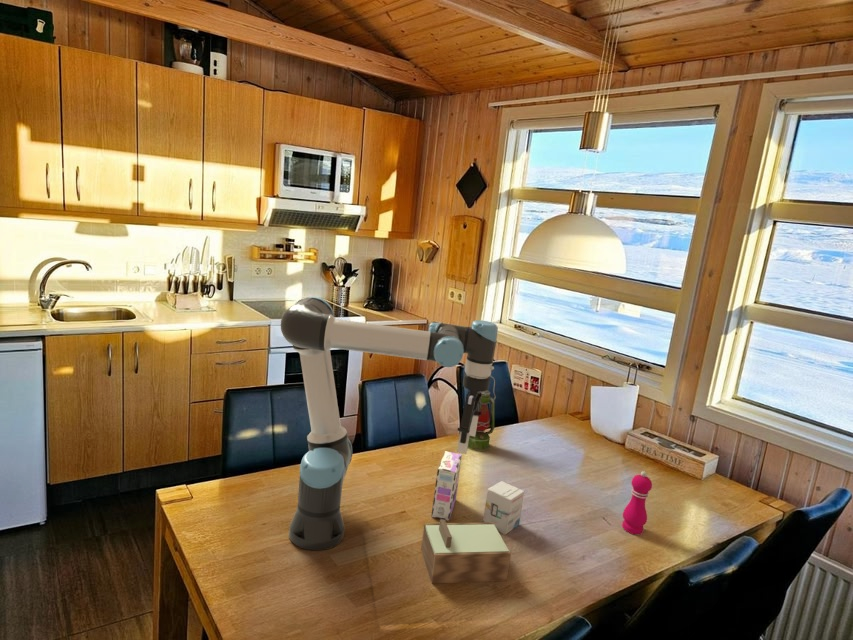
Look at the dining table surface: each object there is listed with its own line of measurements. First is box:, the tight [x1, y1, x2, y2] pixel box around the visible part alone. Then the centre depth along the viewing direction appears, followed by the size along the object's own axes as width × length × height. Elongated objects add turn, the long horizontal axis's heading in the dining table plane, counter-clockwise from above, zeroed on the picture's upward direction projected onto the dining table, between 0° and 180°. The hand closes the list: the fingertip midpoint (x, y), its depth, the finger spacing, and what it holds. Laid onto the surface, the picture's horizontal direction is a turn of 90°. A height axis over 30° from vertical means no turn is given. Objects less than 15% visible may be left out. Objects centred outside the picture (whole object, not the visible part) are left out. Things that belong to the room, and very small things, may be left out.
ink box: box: [482, 480, 525, 535], centre depth 172 cm, size 8×8×12 cm
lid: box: [425, 519, 510, 555], centre depth 149 cm, size 20×12×4 cm, turn 102°
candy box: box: [431, 450, 463, 522], centre depth 177 cm, size 14×6×16 cm, turn 168°
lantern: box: [464, 375, 497, 452], centre depth 226 cm, size 14×11×30 cm
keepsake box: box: [420, 522, 512, 584], centre depth 150 cm, size 20×14×9 cm
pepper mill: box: [621, 470, 653, 535], centre depth 177 cm, size 7×7×20 cm
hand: (466, 443), depth 165 cm, fingers open, 13 cm apart
